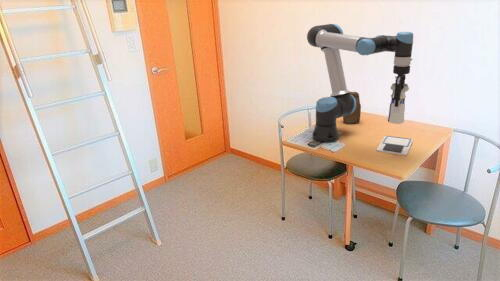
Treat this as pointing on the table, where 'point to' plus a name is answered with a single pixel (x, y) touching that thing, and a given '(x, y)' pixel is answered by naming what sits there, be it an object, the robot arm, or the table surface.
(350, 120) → the block
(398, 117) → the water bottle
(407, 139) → the stamp station
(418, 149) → the table surface
